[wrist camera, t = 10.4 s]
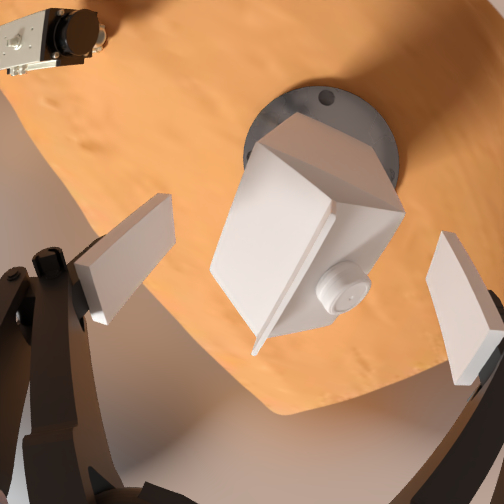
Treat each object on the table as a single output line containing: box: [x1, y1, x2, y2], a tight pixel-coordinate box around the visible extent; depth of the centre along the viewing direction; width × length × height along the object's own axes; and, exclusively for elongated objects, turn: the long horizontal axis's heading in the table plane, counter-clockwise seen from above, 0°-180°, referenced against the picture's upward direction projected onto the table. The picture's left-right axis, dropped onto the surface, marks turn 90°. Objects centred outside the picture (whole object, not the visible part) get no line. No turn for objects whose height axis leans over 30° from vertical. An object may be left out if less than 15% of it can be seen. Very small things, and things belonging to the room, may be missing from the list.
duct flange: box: [243, 86, 399, 189], centre depth 28 cm, size 14×14×1 cm
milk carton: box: [210, 112, 405, 356], centre depth 19 cm, size 7×7×19 cm
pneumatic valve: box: [0, 8, 106, 76], centre depth 21 cm, size 6×12×12 cm, turn 81°
